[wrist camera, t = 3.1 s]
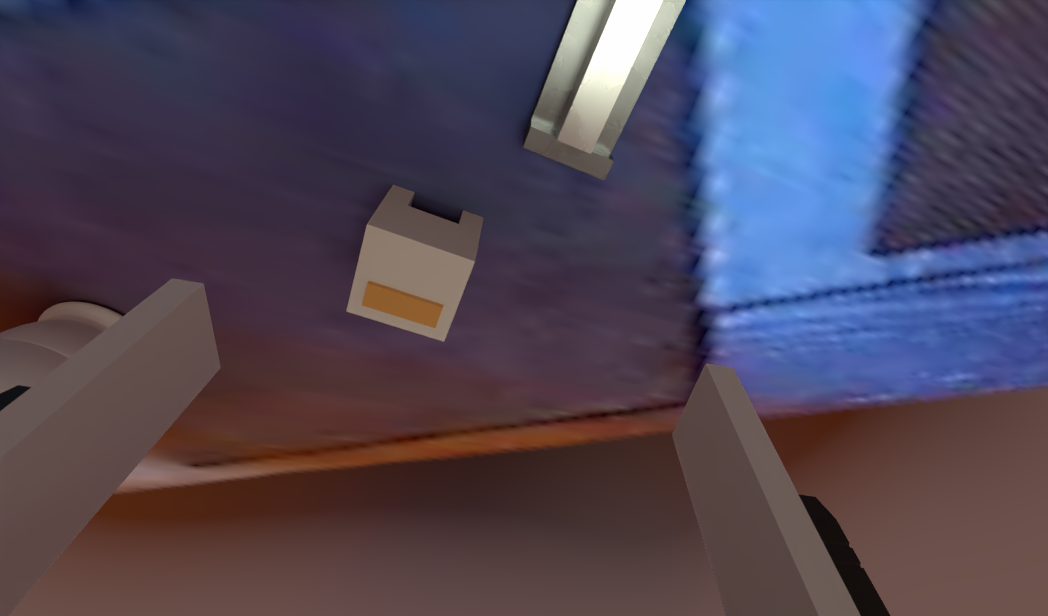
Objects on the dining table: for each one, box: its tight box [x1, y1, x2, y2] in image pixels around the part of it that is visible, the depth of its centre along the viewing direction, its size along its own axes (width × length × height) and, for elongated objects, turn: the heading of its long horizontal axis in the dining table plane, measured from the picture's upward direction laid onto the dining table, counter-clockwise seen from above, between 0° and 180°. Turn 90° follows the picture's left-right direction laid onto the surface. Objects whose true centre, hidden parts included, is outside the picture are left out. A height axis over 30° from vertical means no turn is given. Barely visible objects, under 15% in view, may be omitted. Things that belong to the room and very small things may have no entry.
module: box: [347, 185, 483, 341], centre depth 31 cm, size 6×6×6 cm
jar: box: [0, 302, 123, 393], centre depth 32 cm, size 11×10×15 cm
